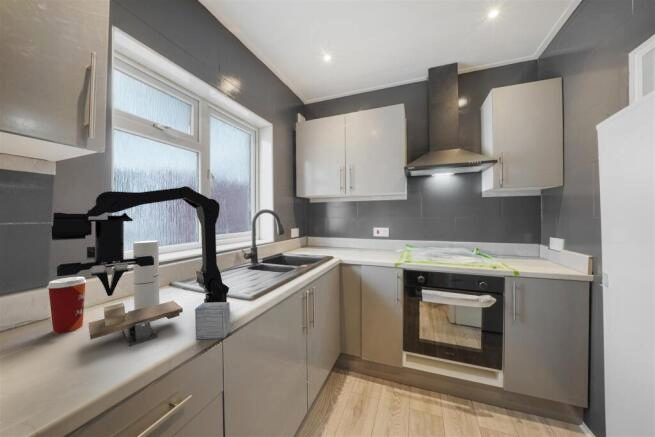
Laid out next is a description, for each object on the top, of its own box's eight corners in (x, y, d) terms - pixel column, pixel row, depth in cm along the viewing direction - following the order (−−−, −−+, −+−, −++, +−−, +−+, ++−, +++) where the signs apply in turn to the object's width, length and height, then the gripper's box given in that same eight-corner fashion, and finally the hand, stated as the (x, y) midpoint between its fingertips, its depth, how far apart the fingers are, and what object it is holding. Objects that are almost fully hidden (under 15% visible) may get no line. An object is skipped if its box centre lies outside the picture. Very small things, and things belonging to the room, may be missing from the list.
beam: (173, 308, 79) (173, 300, 79) (183, 316, 72) (182, 308, 72) (89, 332, 64) (88, 322, 64) (90, 345, 57) (90, 334, 57)
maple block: (123, 316, 67) (122, 302, 67) (125, 320, 65) (124, 306, 64) (104, 321, 64) (103, 307, 64) (105, 326, 62) (104, 311, 62)
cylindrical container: (164, 307, 87) (163, 240, 87) (147, 315, 80) (146, 242, 80) (146, 307, 88) (145, 240, 88) (128, 315, 81) (127, 242, 81)
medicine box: (230, 331, 68) (230, 301, 68) (224, 339, 64) (223, 307, 64) (203, 332, 68) (202, 302, 68) (195, 340, 64) (194, 308, 64)
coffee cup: (91, 326, 73) (90, 278, 73) (51, 338, 66) (50, 284, 66) (82, 320, 77) (82, 274, 77) (44, 330, 70) (43, 280, 70)
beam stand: (146, 321, 75) (146, 306, 75) (157, 337, 65) (157, 320, 65) (121, 328, 71) (121, 312, 71) (129, 346, 61) (129, 328, 61)
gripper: (146, 235, 76) (146, 283, 76) (59, 238, 62) (59, 297, 62) (154, 236, 68) (154, 290, 68) (56, 241, 55) (56, 308, 55)
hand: (109, 295), depth 64 cm, fingers closed
